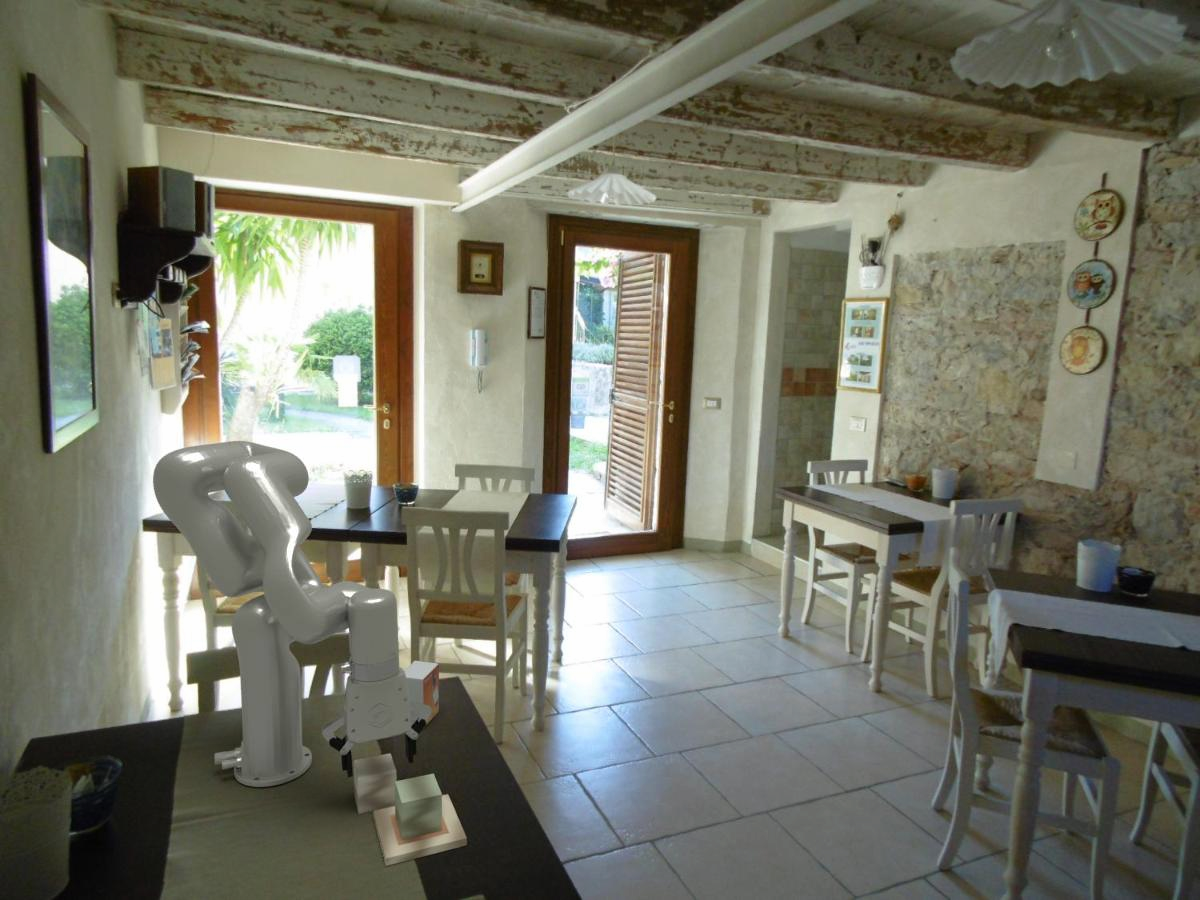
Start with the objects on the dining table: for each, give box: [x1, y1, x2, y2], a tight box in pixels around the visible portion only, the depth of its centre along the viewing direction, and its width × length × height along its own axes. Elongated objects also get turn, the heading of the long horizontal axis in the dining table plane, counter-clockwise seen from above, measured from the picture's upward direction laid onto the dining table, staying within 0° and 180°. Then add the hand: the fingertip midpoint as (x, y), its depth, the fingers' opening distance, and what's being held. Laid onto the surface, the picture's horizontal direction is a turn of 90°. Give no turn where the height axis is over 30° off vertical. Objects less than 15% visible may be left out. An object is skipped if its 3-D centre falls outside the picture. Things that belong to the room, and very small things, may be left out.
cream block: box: [353, 753, 398, 815], centre depth 124 cm, size 6×6×6 cm
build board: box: [372, 793, 468, 867], centre depth 116 cm, size 12×12×1 cm
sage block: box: [395, 773, 443, 840], centre depth 116 cm, size 6×6×6 cm
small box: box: [404, 660, 440, 730], centre depth 150 cm, size 8×6×10 cm
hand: (380, 766), depth 123 cm, fingers open, 9 cm apart
